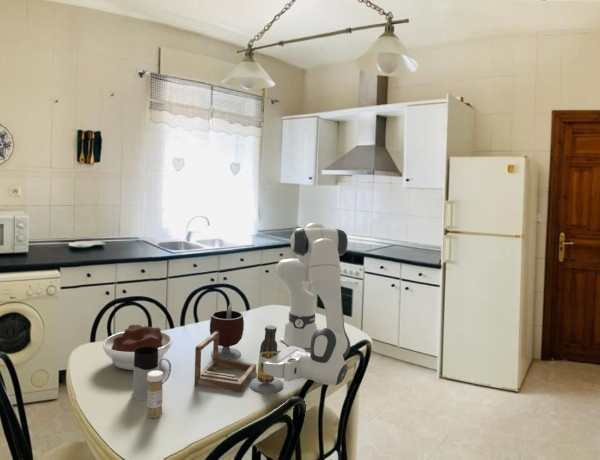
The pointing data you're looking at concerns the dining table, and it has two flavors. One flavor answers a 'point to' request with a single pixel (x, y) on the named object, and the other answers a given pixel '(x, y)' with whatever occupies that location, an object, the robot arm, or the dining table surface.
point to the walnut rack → (222, 364)
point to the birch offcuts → (220, 376)
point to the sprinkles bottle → (154, 394)
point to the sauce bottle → (267, 352)
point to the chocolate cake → (135, 344)
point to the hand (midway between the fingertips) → (265, 355)
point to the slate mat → (266, 386)
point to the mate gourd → (227, 332)
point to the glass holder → (145, 370)
